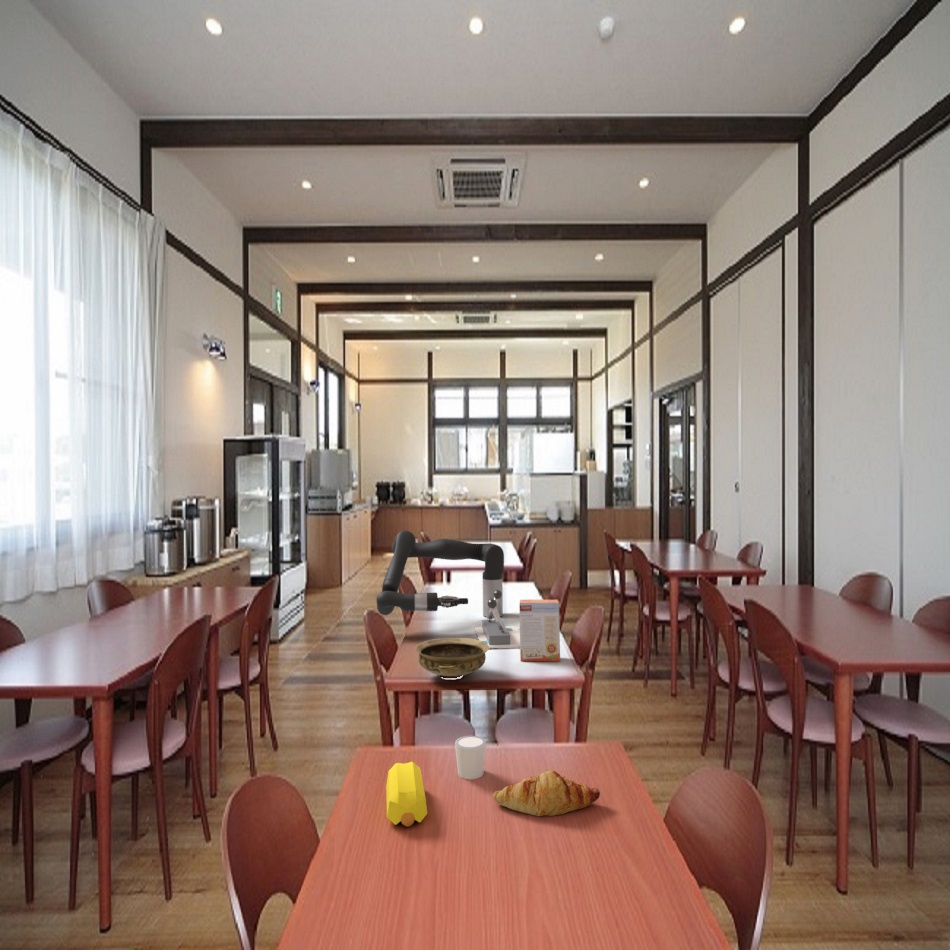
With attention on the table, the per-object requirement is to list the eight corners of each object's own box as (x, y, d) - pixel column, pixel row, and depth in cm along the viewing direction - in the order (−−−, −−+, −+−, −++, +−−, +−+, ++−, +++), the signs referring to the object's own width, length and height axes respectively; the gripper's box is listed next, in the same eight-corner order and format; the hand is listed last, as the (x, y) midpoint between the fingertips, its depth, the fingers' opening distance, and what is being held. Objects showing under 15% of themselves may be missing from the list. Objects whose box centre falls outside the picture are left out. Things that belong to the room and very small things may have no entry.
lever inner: (483, 618, 261) (494, 588, 262) (492, 621, 262) (502, 590, 262) (484, 620, 258) (495, 589, 258) (493, 623, 258) (503, 592, 259)
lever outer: (497, 632, 244) (485, 600, 243) (506, 628, 244) (494, 596, 244) (499, 634, 240) (486, 602, 240) (507, 631, 241) (495, 598, 240)
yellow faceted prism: (422, 783, 135) (386, 786, 134) (421, 752, 135) (385, 755, 134) (428, 830, 117) (387, 834, 116) (428, 794, 117) (386, 798, 116)
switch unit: (474, 629, 265) (474, 619, 265) (516, 628, 267) (516, 617, 267) (482, 649, 235) (482, 637, 235) (529, 647, 237) (529, 635, 237)
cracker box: (559, 657, 225) (558, 598, 225) (560, 662, 219) (559, 602, 219) (520, 656, 226) (519, 598, 226) (520, 661, 220) (519, 602, 220)
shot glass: (462, 783, 134) (462, 750, 134) (450, 769, 140) (450, 738, 140) (491, 776, 137) (491, 744, 137) (478, 763, 143) (478, 733, 143)
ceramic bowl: (483, 694, 188) (483, 661, 188) (405, 691, 191) (405, 659, 191) (493, 663, 218) (493, 635, 218) (425, 662, 221) (425, 633, 221)
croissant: (494, 831, 122) (493, 805, 119) (492, 784, 131) (491, 758, 127) (603, 827, 122) (605, 801, 118) (593, 781, 131) (595, 755, 127)
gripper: (426, 596, 251) (469, 594, 252) (425, 589, 264) (466, 589, 265) (426, 614, 251) (469, 613, 252) (425, 607, 264) (466, 606, 265)
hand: (467, 601), depth 259 cm, fingers closed
